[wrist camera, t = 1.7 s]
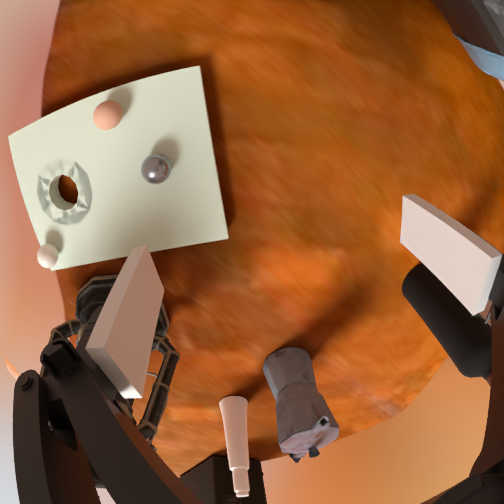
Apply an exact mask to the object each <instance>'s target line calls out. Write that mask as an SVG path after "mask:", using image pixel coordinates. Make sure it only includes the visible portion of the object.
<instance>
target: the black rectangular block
mask: <svg viewBox="0 0 504 504" xmlns="http://www.w3.org/2000/svg"><path fill="white" fill-rule="evenodd" d="M247 471H248V479H249V487H250V491H249V492H248V493H249V496H246V497H237V496H236V494H237V493H236V492H235V491H234V485H233V474H232V471H231V470H230V467H229V461H228V458H225V457H220V456H212V457H211V458H209V459H208V460H206V461H205V462H203V463H202V464H200V465H199V466H197V467H196V468H194V469H193V470H191V471H190V472H188V473H186V474H185V475H183V476H182V477H180V478H179V479H180V480H181V481H182V482H183V483H184V485H185V486H186V487H187V488H188V489H189V490H190V491H191V492H192V493H193V494H194V495H195V496H196V497H197V498H198V499H200V500H201V501H202V502H203V503H204V504H267V501H266V495H265V488H264V482H263V472H262V468H261V463H260V461H258V460H249V469H248V470H247Z"/></svg>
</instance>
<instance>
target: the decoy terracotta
mask: <svg viewBox="0 0 504 504" xmlns="http://www.w3.org/2000/svg"><path fill="white" fill-rule="evenodd" d="M122 115H123V111H122V108H121V106H120V104H118V103H117V102H115V101H112V100H107V101H104V102H102V103H100V104H99V105H98V106H97V107H96V109H95V110H94V113H93V120H94V123H95V125H96V126H97V127H98V128H100V129H102V130H110V129H113V128H114V127H116V126H117V125H118V124H119V123H120V121H121V119H122Z"/></svg>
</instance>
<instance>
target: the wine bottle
mask: <svg viewBox="0 0 504 504" xmlns="http://www.w3.org/2000/svg"><path fill="white" fill-rule="evenodd" d="M402 293H403V295H404V297H405V298H406V299H407V300H408V302H409V303H410V304H411V305H412V307H413V308H414V309H415V310H416V312H417V313H418V314H419V316H420V317H421V318H422V319H423V321H424V322H425V323H426V325H427V326H428V327H429V329H430V330H431V331H432V333H433V334H434V335H435V337H436V338H437V340H438V341H439V342H440V344H441V345H442V346H443V348H444V349H445V351H446V352H447V354H448V355H449V356H450V358H451V359H452V361H453V362H454V364H455V365H456V366H457V368H458V370H459V371H460V372H461V373H462V374H463V375H464V376H467V377H471V378H472V377H483V378H484V379H486V380H487V382H488V383H489V385H490V386H491V374H492V331H491V326H490V325H489V324H488V323H487V324H485V319H484V318H483V317H482V316H481V315H480V314H479V313H477V314H475V315H472V314H471V313H470V312H469V311H468V310H467V308H466V307H465V306H464V305H463V304H462V303H461V302H460V301H459V300H458V299H457V298H456V296H455V295H454V294H453V293H452V292H451V291H450V290H449V289H448V288H447V287H446V286H445V285H444V284H443V283H442V282H441V281H440V280H439V279H438V278H437V277H436V276H435V275H434V274H433V273H432V272H431V271H430V270H429V269H428V268H427V267H426V266H425V265H424V264H423V263H422V264H420V265H417V266H416V267H415V268H413V269H412V270H411V271H410V272H409V273H408V274H407V276H406V278H405V279H404V282H403V285H402Z"/></svg>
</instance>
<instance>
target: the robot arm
mask: <svg viewBox="0 0 504 504" xmlns="http://www.w3.org/2000/svg"><path fill="white" fill-rule="evenodd" d="M431 1H432V2H433V3H434V5H435V6H436V7H437V9H438V10H439V11H440V13H441V14H442V15H443V17H444V18H445V20H446V21H447V23H448V24H449V26H450V27H451V29H452V33H453V35H454V36H455V37H456V38H457V39H458V40H459V41H460V42H461V44H462V45H463V47H464V48H465V50H466V51H467V53H468V55H469V56H470V58H471V59H472V61H473V62H474V63H475V65H476V66H477V67H478V68H480V69H481V70H482V71H484V72H485V73H487V74H489V75H492V76H493V77H495V78H497V79H500V80H503V81H504V0H431ZM400 242H401V243H402V244H403V245H404V246H405V247H406V248H407V249H408V250H409V251H411V252H412V253H413V254H414V255H415V256H416V257H417V258H418V259H419V260H420V261H421V262H422V263H423V264H424V265H425V266H426V267H427V268H428V269H429V270H430V271H431V272H432V273H433V274H434V275H435V276H436V277H437V278H438V279H439V280H440V281H441V282H442V283H443V284H444V285H445V286H446V287H447V288H448V289H449V290H450V291H451V292H452V293H453V294H454V295H455V296H456V298H457V299H458V300H459V301H460V302H461V303H462V304H463V305H464V306H465V307H466V308H467V310H468V311H469V312H470V313H471V314H472V315H475V314H477V313H479V312H481V311H483V310H484V309H485V306H486V303H487V301H488V298H489V299H490V300H491V301H492V302H493V303H492V305H491V308H490V311H489V313H488V315H487V318H486V320H485V324H487V322H488V320H489V319H491V322H490V325H491V331H492V374H491V390H490V401H489V410H488V418H487V425H486V431H485V437H484V442H483V447H482V450H481V453H480V455H479V456H478V458H477V459H476V461H475V463H474V465H473V467H472V469H471V472H470V475H469V477H468V478H466V479H465V480H463V481H461V482H460V483H458V484H456V485H455V486H453V487H451V488H449V489H447V490H446V491H444V492H442V493H440V494H438V495H437V496H434V497H433V498H431V499H429V500H427V501H425V502H423V503H421V504H504V254H503V253H501V252H500V251H499V250H497V249H496V248H495V247H494V246H492V245H491V244H489V243H488V242H487V241H486V240H484V239H482V237H480V236H479V235H477V234H476V233H474V232H472V231H471V230H469V229H468V228H467V227H465V226H464V225H462V224H461V223H459V222H458V221H456V220H455V219H453V218H452V217H450V216H449V215H447V214H446V213H444V212H443V211H441V210H439V209H438V208H436V207H435V206H433V205H431V204H430V203H428V202H427V201H425V200H423V199H422V198H420V197H418V196H417V195H415V194H411V195H404V196H403V207H402V224H401V237H400ZM164 291H165V290H164V288H163V285H162V283H161V280H160V278H159V275H158V273H157V270H156V268H155V265H154V262H153V260H152V257H151V254H150V252H149V249H148V246H147V245H142V246H138V247H134V248H132V250H131V252H130V254H129V256H128V258H127V260H126V262H125V263H124V265H123V267H122V269H121V271H120V273H119V275H118V277H117V279H116V281H115V283H114V285H113V287H112V289H111V291H110V293H109V296H108V298H107V300H106V302H105V304H104V305H102V306H99V307H98V308H97V309H96V310H95V311H94V312H93V313H92V315H91V317H90V319H89V321H88V325H86V327H85V330H84V332H83V334H82V336H81V339H80V341H79V343H78V345H77V348H76V349H75V348H74V347H73V345H72V344H71V342H70V341H69V340H68V339H67V338H63V337H62V338H57V339H55V340H53V341H51V342H50V343H49V344H48V345H46V347H45V348H44V349H43V351H42V353H41V356H40V362H41V363H42V364H43V365H44V367H45V368H46V369H47V370H48V371H49V373H50V374H51V375H50V376H47V377H43V378H41V376H40V375H39V374H38V373H37V372H36V371H35V370H28V371H26V372H24V373H22V374H21V376H19V377H18V379H17V381H16V383H15V388H14V402H13V447H14V462H15V473H16V481H17V488H18V495H19V501H20V504H101V502H100V499H99V497H98V494H97V491H96V488H95V484H94V481H93V478H92V474H91V471H90V467H89V464H88V460H87V456H88V458H89V460H90V462H91V464H92V466H93V467H94V469H95V471H96V473H97V474H98V476H99V478H100V479H101V481H102V483H103V484H104V486H105V488H106V489H107V491H108V492H109V494H110V495H111V497H112V498H113V500H114V501H115V503H116V504H204V503H203V502H202V501H201V500H200V499H198V498H197V497H196V496H195V495H194V494H193V493H192V492H191V491H190V490H189V489H188V488H187V487H186V486H185V485H184V483H183V482H182V481H181V480H180V479H179V478H178V477H177V476H176V475H175V474H174V473H173V472H172V471H171V469H170V468H169V467H168V466H167V465H166V464H165V463H164V461H163V460H162V459H161V458H160V457H159V456H158V454H157V453H156V452H155V451H154V450H153V448H152V447H151V446H150V445H149V443H148V442H147V441H146V439H145V438H144V437H143V436H142V434H141V433H140V432H139V430H138V429H137V428H136V426H135V425H134V424H133V422H132V421H131V419H130V418H129V417H128V415H127V414H126V412H125V411H124V409H123V408H122V406H121V405H120V403H119V402H118V401H117V400H116V399H115V395H116V391H117V390H118V391H119V393H120V394H121V395H122V396H123V397H124V398H142V397H143V391H144V385H145V380H146V374H147V369H148V363H149V358H150V353H151V348H152V343H153V339H154V334H155V329H156V325H157V320H158V316H159V311H160V307H161V303H162V299H163V295H164ZM86 454H87V456H86Z"/></svg>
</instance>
